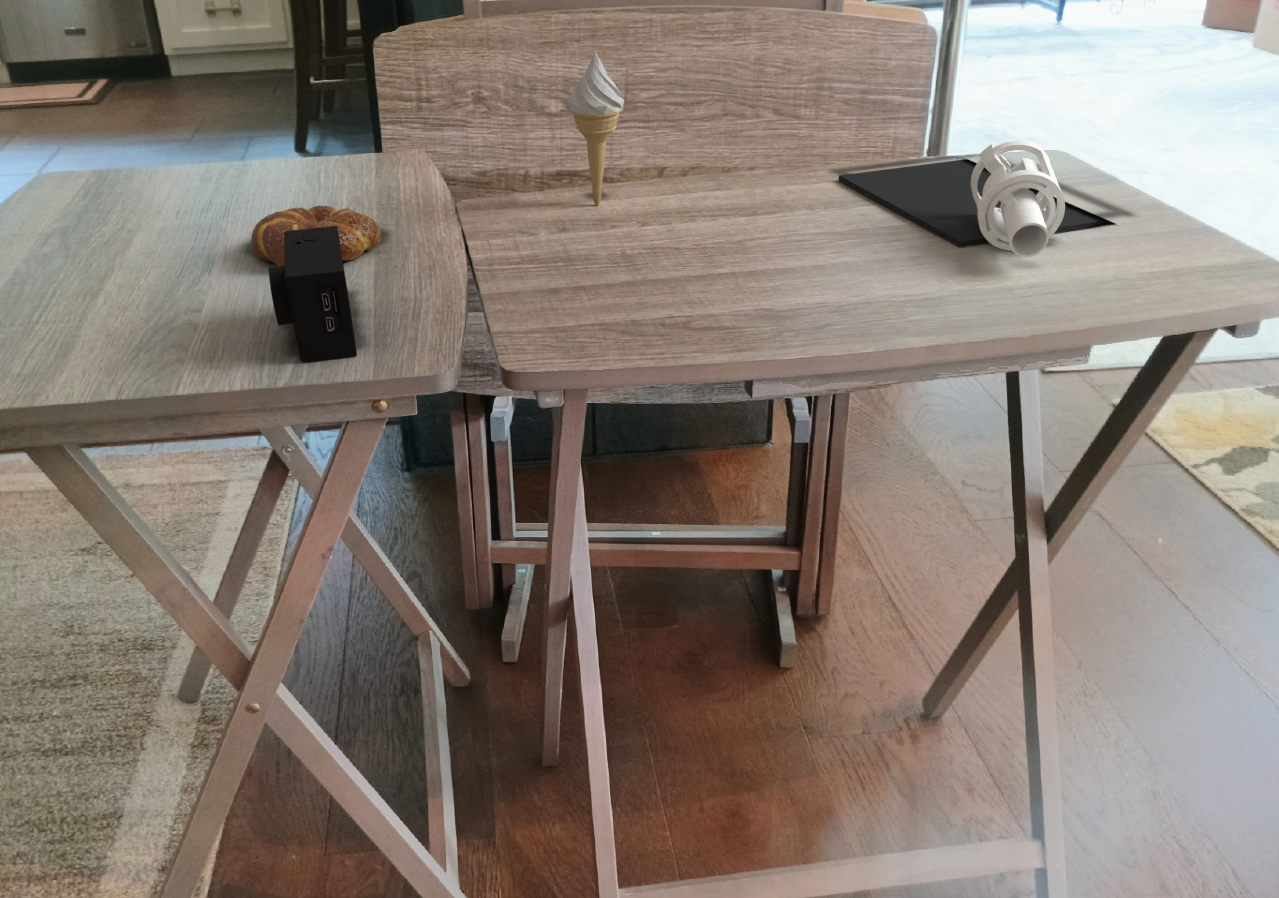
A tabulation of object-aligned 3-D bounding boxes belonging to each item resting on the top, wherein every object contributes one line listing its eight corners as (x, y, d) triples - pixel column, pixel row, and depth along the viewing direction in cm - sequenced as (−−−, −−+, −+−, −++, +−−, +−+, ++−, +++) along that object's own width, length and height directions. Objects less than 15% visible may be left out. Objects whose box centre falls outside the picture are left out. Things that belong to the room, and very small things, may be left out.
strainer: (966, 239, 88) (954, 173, 99) (1018, 293, 90) (1000, 222, 101) (1040, 182, 84) (1018, 120, 95) (1093, 240, 86) (1065, 172, 97)
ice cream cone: (623, 195, 110) (624, 43, 101) (624, 213, 105) (625, 55, 97) (570, 196, 110) (567, 45, 101) (569, 214, 105) (565, 56, 97)
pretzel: (386, 228, 103) (381, 191, 101) (378, 268, 94) (372, 229, 92) (265, 234, 103) (258, 197, 101) (245, 275, 94) (236, 235, 92)
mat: (1122, 223, 99) (1123, 217, 98) (959, 247, 95) (960, 241, 94) (980, 162, 116) (981, 156, 116) (838, 180, 112) (838, 174, 112)
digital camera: (284, 312, 87) (268, 230, 83) (349, 304, 88) (337, 223, 84) (285, 365, 78) (267, 277, 74) (357, 356, 79) (343, 269, 75)
